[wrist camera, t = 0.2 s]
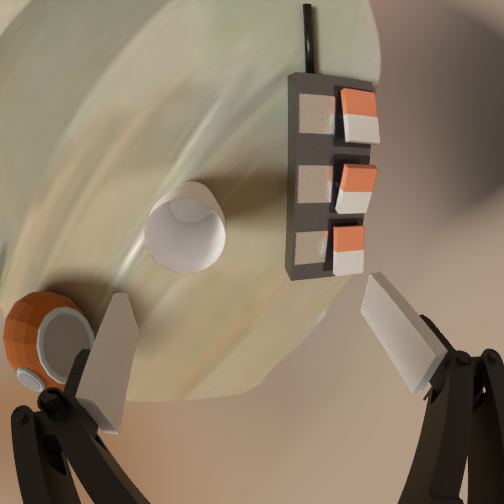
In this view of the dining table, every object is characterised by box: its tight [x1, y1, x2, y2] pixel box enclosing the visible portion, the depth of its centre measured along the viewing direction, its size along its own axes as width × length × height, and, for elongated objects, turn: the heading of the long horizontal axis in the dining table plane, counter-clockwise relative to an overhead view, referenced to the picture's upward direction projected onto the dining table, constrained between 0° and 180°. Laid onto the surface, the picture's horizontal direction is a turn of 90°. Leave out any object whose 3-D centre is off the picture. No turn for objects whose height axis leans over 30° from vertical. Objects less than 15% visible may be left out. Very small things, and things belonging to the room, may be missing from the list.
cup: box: [145, 181, 226, 273], centre depth 34 cm, size 9×9×12 cm
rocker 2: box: [335, 164, 378, 214], centre depth 35 cm, size 7×4×1 cm, turn 1°
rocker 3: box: [333, 225, 365, 276], centre depth 40 cm, size 7×4×1 cm, turn 1°
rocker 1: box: [341, 88, 380, 144], centre depth 31 cm, size 7×4×1 cm, turn 1°
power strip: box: [285, 4, 372, 281], centre depth 35 cm, size 42×11×5 cm, turn 1°
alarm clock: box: [3, 291, 95, 392], centre depth 38 cm, size 19×18×17 cm
